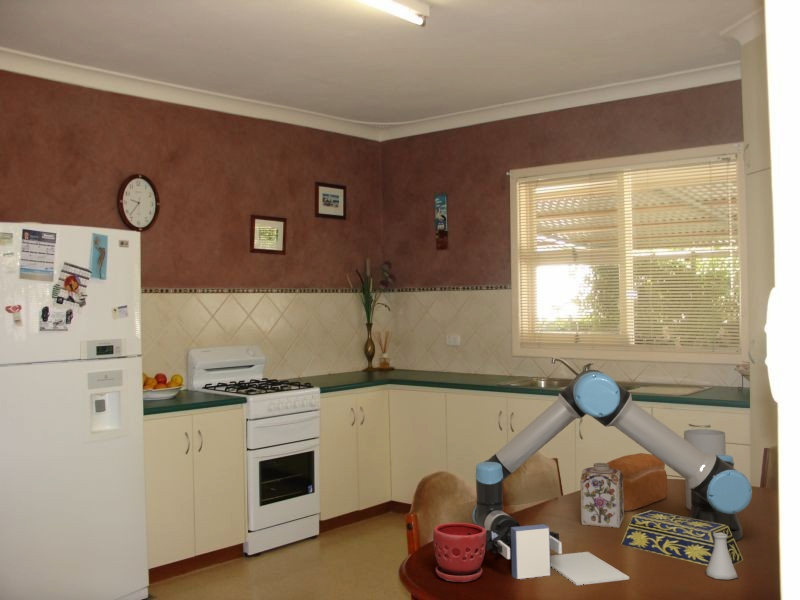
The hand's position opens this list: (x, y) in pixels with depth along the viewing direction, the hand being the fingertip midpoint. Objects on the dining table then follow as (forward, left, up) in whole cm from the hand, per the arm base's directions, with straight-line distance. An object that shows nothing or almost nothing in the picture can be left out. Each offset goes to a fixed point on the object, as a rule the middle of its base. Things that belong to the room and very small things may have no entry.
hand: (534, 550), depth 190 cm
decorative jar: (-15, -56, -7) cm, 59 cm away
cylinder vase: (-47, -78, -7) cm, 92 cm away
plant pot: (+18, +2, -7) cm, 20 cm away
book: (+1, -2, -7) cm, 8 cm away
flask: (-44, -12, -7) cm, 46 cm away
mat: (-11, -10, -7) cm, 17 cm away
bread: (-24, -84, -7) cm, 88 cm away
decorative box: (-35, -30, -8) cm, 47 cm away
